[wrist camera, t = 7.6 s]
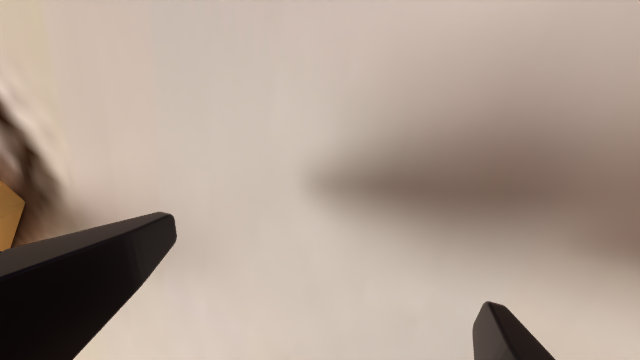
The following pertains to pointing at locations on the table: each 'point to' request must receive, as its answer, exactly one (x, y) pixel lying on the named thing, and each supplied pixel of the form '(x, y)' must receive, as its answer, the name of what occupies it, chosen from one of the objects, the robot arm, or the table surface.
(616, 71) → the table surface
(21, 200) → the rubber stamp
